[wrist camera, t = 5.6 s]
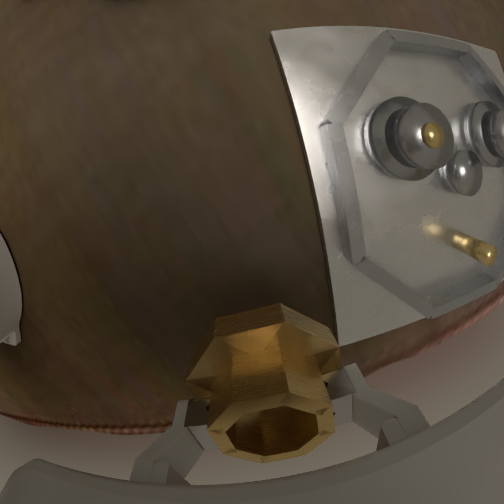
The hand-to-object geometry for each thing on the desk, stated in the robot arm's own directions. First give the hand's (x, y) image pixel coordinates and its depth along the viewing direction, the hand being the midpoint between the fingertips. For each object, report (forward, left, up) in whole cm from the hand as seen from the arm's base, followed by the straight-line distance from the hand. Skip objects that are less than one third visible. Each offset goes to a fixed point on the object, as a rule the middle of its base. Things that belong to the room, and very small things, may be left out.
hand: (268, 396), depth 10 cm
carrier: (+18, +6, -11) cm, 22 cm away
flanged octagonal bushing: (0, 0, -2) cm, 2 cm away
